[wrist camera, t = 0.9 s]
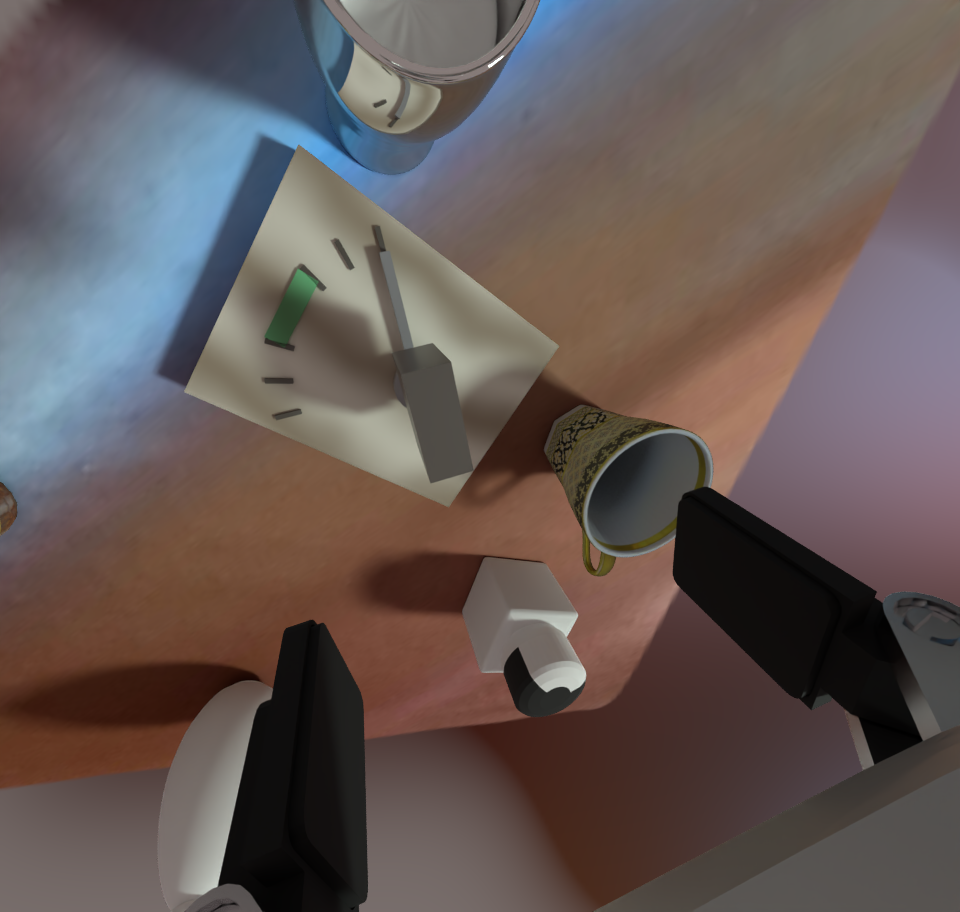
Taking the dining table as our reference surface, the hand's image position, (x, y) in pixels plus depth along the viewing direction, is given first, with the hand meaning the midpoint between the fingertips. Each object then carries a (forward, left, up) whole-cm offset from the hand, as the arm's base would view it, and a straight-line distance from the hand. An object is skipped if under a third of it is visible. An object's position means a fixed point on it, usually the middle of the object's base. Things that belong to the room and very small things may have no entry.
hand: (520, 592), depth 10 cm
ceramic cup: (-1, +16, -22) cm, 27 cm away
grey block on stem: (-2, -2, -20) cm, 20 cm away
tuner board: (0, -2, -22) cm, 22 cm away
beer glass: (-12, -9, -22) cm, 27 cm away
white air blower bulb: (+33, +2, -22) cm, 40 cm away
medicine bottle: (+14, +19, -22) cm, 32 cm away
